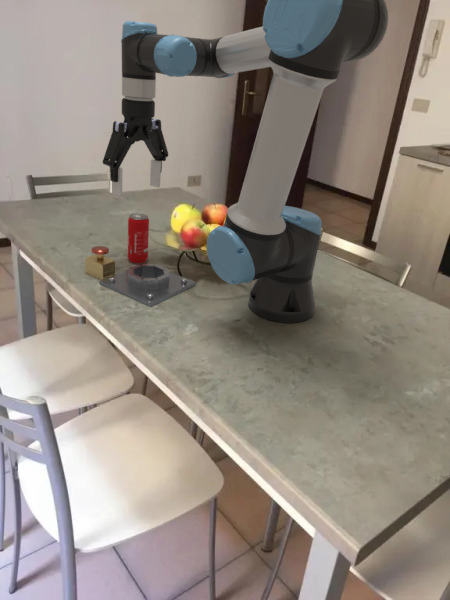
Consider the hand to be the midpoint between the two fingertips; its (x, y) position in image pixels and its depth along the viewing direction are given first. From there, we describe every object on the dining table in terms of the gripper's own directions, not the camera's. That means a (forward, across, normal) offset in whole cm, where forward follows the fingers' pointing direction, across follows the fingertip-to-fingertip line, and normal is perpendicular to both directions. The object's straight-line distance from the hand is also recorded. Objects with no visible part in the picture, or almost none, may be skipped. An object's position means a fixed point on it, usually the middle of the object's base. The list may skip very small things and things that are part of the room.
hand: (136, 190), depth 127 cm
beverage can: (+19, -1, 0) cm, 19 cm away
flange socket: (+19, +8, +12) cm, 24 cm away
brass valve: (+19, +12, 0) cm, 22 cm away
